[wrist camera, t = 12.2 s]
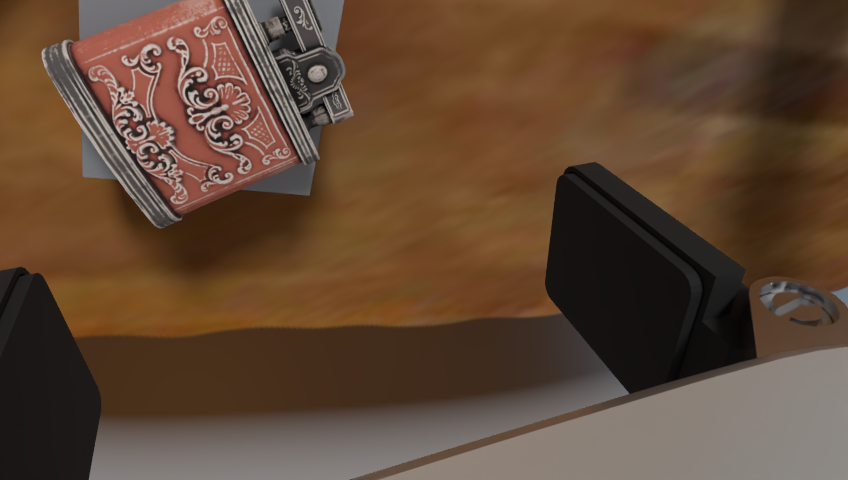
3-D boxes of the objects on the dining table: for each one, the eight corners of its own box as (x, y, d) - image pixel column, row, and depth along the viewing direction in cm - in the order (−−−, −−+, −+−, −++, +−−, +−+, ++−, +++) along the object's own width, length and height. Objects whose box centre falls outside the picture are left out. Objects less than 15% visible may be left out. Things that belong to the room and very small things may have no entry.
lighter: (167, 209, 27) (361, 124, 28) (161, 242, 24) (379, 146, 25) (54, 41, 22) (291, -52, 23) (31, 57, 19) (301, -50, 20)
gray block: (320, -30, 29) (346, -12, 24) (292, 150, 34) (309, 195, 29) (98, -86, 25) (76, -77, 20) (100, 128, 30) (82, 177, 25)
